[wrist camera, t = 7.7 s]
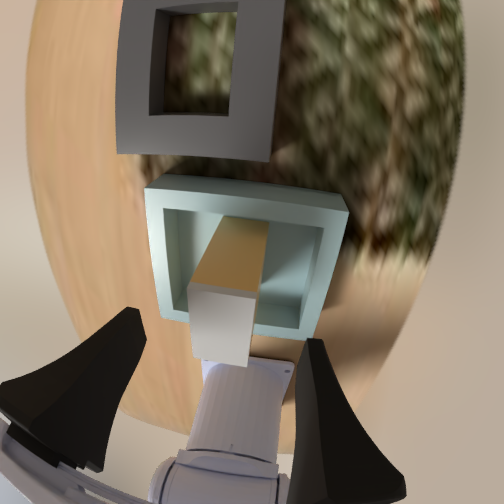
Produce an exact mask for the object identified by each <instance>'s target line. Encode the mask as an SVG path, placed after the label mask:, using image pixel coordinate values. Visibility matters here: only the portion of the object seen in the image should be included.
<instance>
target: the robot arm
mask: <svg viewBox="0 0 504 504" xmlns="http://www.w3.org/2000/svg"><path fill="white" fill-rule="evenodd" d="M146 341H147V338H146V335H145V331H144V327H143V323H142V319H141V315H140V311H139V309H136V308H132V307H126V308H125V309H123V310H122V311H121V312H120V313H119V314H117V315H116V316H115V317H114V318H113V319H111V320H110V321H109V322H108V323H107V324H105V325H104V326H103V327H102V328H100V329H99V330H98V331H97V332H96V333H94V334H93V335H92V336H91V337H89V338H88V339H87V340H85V341H84V342H83V343H81V344H80V345H79V346H77V347H76V348H75V349H73V350H72V351H70V352H69V353H67V354H65V355H64V356H62V357H61V358H59V359H57V360H56V361H54V362H52V363H50V364H48V365H46V366H44V367H42V368H40V369H38V370H36V371H34V372H32V373H29V374H26V375H24V376H21V377H18V378H15V379H12V380H8V381H5V382H2V383H1V385H0V412H1V413H3V414H4V416H6V417H7V418H8V419H9V420H10V421H11V424H10V425H8V424H7V423H6V422H5V421H4V420H2V419H1V418H0V473H1V474H2V475H3V476H4V477H5V478H6V479H7V480H8V481H9V482H10V483H11V484H12V485H13V486H14V487H15V488H16V489H17V490H18V491H19V492H20V493H21V494H22V495H23V496H25V498H27V499H28V500H29V501H30V502H31V503H32V504H109V503H107V502H105V501H102V500H100V499H98V498H96V497H93V496H91V495H89V494H86V492H85V490H84V488H86V489H87V490H89V491H92V492H94V493H95V494H98V495H100V496H102V497H104V498H106V499H109V500H111V501H113V502H115V503H118V504H391V503H393V502H397V501H399V500H402V499H404V498H405V497H406V496H407V495H406V484H405V480H404V476H403V475H402V474H401V473H400V472H399V471H398V470H397V469H396V468H395V467H394V466H393V465H392V464H391V463H390V461H389V460H388V459H387V458H386V457H385V456H384V455H383V454H382V452H381V451H380V450H379V449H378V447H377V446H376V445H375V444H374V442H373V441H372V439H371V438H370V437H369V435H368V434H367V433H366V431H365V430H364V428H363V427H362V425H361V424H360V422H359V420H358V419H357V417H356V415H355V414H354V412H353V410H352V408H351V407H350V405H349V403H348V401H347V399H346V397H345V395H344V393H343V391H342V389H341V387H340V384H339V382H338V380H337V377H336V375H335V373H334V370H333V368H332V365H331V363H330V360H329V357H328V355H327V352H326V349H325V346H324V342H323V340H322V339H315V338H307V339H306V342H305V345H304V348H303V351H302V354H301V357H300V359H299V362H298V365H297V373H296V384H295V405H296V441H295V450H294V459H293V466H292V473H291V479H289V478H288V477H287V475H286V474H278V468H279V465H278V464H276V460H277V450H278V441H279V430H280V419H281V408H282V401H283V398H284V396H285V393H286V390H287V388H288V385H289V382H290V379H291V377H292V374H293V371H294V363H292V362H288V361H280V360H272V359H264V358H257V357H250V356H249V359H248V364H247V367H242V366H235V365H230V364H224V363H218V362H213V361H208V360H203V359H201V363H202V373H203V383H204V386H203V390H202V393H201V397H200V400H199V404H198V407H197V411H196V414H195V418H194V422H193V425H192V429H191V432H190V436H189V440H188V443H187V447H186V450H181V449H179V452H178V455H177V458H176V457H170V458H168V459H167V460H166V461H164V462H162V463H161V464H160V465H159V466H158V468H157V469H156V471H155V473H154V475H153V477H152V480H151V483H150V487H149V493H148V501H146V500H143V499H140V498H137V497H134V496H132V495H129V494H126V493H124V492H122V491H119V490H117V489H114V488H112V487H109V486H107V485H105V484H103V483H101V482H99V481H97V480H94V479H92V478H90V477H88V476H86V475H84V474H82V473H81V472H79V471H77V470H76V467H79V468H81V469H84V468H85V467H86V468H88V469H90V470H92V471H94V472H96V473H99V472H102V471H103V468H104V461H105V455H106V449H107V444H108V440H109V435H110V431H111V428H112V424H113V420H114V417H115V414H116V411H117V408H118V405H119V402H120V400H121V398H122V395H123V393H124V391H125V389H126V387H127V385H128V383H129V381H130V379H131V377H132V375H133V373H134V371H135V369H136V367H137V365H138V363H139V360H140V358H141V355H142V353H143V350H144V347H145V344H146ZM83 487H84V488H83Z"/></svg>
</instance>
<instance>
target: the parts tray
mask: <svg viewBox="0 0 504 504" xmlns="http://www.w3.org/2000/svg"><path fill="white" fill-rule="evenodd" d="M144 191H145V204H146V215H147V225H148V234H149V243H150V251H151V259H152V266H153V273H154V279H155V286H156V292H157V298H158V304H159V309H160V315H161V318H166V319H171V320H176V321H181V322H186V323H190V321H189V310H188V298H187V286H188V284H189V282H190V280H191V278H192V276H193V274H194V272H195V270H196V268H197V266H198V264H199V262H200V260H201V258H202V256H203V254H204V252H205V250H206V248H207V246H208V244H209V242H210V240H211V238H212V236H213V234H214V232H215V231H216V229H217V227H218V225H219V223H220V221H221V219H222V217H223V216H226V217H234V218H242V219H250V220H257V221H264V222H269V229H268V237H267V244H266V252H265V259H264V267H263V274H262V282H261V288H260V294H259V300H258V306H257V312H256V318H255V324H254V330H253V334H256V335H263V336H270V337H278V338H286V339H294V340H303V341H306V339H307V338H312V337H313V334H314V331H315V328H316V325H317V322H318V319H319V316H320V313H321V310H322V307H323V304H324V301H325V297H326V294H327V291H328V288H329V285H330V281H331V278H332V274H333V271H334V268H335V264H336V261H337V257H338V253H339V250H340V246H341V242H342V239H343V235H344V231H345V227H346V223H347V219H348V215H349V211H348V209H347V206H346V204H345V202H344V200H343V198H342V195H341V194H338V193H332V192H326V191H320V190H313V189H307V188H300V187H293V186H286V185H279V184H271V183H263V182H254V181H246V180H236V179H226V178H216V177H204V176H192V175H177V174H163V175H161V176H160V177H159V178H157V179H156V180H154V181H153V182H152V183H150V184H149V185H148V186H146V187H145V188H144Z"/></svg>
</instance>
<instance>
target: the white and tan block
mask: <svg viewBox="0 0 504 504" xmlns="http://www.w3.org/2000/svg"><path fill="white" fill-rule="evenodd" d="M268 229H269V222H264V221H257V220H250V219H242V218H234V217H226V216H223V217H222V219H221V221H220V223H219V225H218V227H217V229H216V231H215V232H214V234H213V236H212V238H211V240H210V242H209V244H208V246H207V248H206V250H205V252H204V254H203V256H202V258H201V260H200V262H199V264H198V266H197V268H196V270H195V272H194V274H193V276H192V278H191V280H190V282H189V284H188V286H187V298H188V310H189V321H190V332H191V342H192V351H193V358H198V359H203V360H208V361H213V362H218V363H224V364H230V365H235V366H242V367H247V364H248V359H249V353H250V347H251V341H252V336H253V330H254V324H255V318H256V312H257V306H258V300H259V294H260V288H261V282H262V274H263V267H264V259H265V252H266V244H267V237H268Z"/></svg>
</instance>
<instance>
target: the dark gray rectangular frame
mask: <svg viewBox="0 0 504 504" xmlns="http://www.w3.org/2000/svg"><path fill="white" fill-rule="evenodd" d="M285 11H286V0H123V6H122V13H121V21H120V29H119V39H118V50H117V66H116V94H115V117H116V147H117V154H161V155H187V156H204V157H218V158H230V159H241V160H251V161H260V162H268V163H269V160H270V157H271V152H272V143H273V133H274V124H275V114H276V104H277V94H278V84H279V74H280V64H281V54H282V43H283V33H284V22H285ZM210 12H237V21H236V31H235V42H234V53H233V64H232V76H231V89H230V102H229V114H227V113H200V112H166V113H164V84H165V66H166V52H167V41H168V30H169V21H170V16H175V15H184V14H195V13H210Z"/></svg>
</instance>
